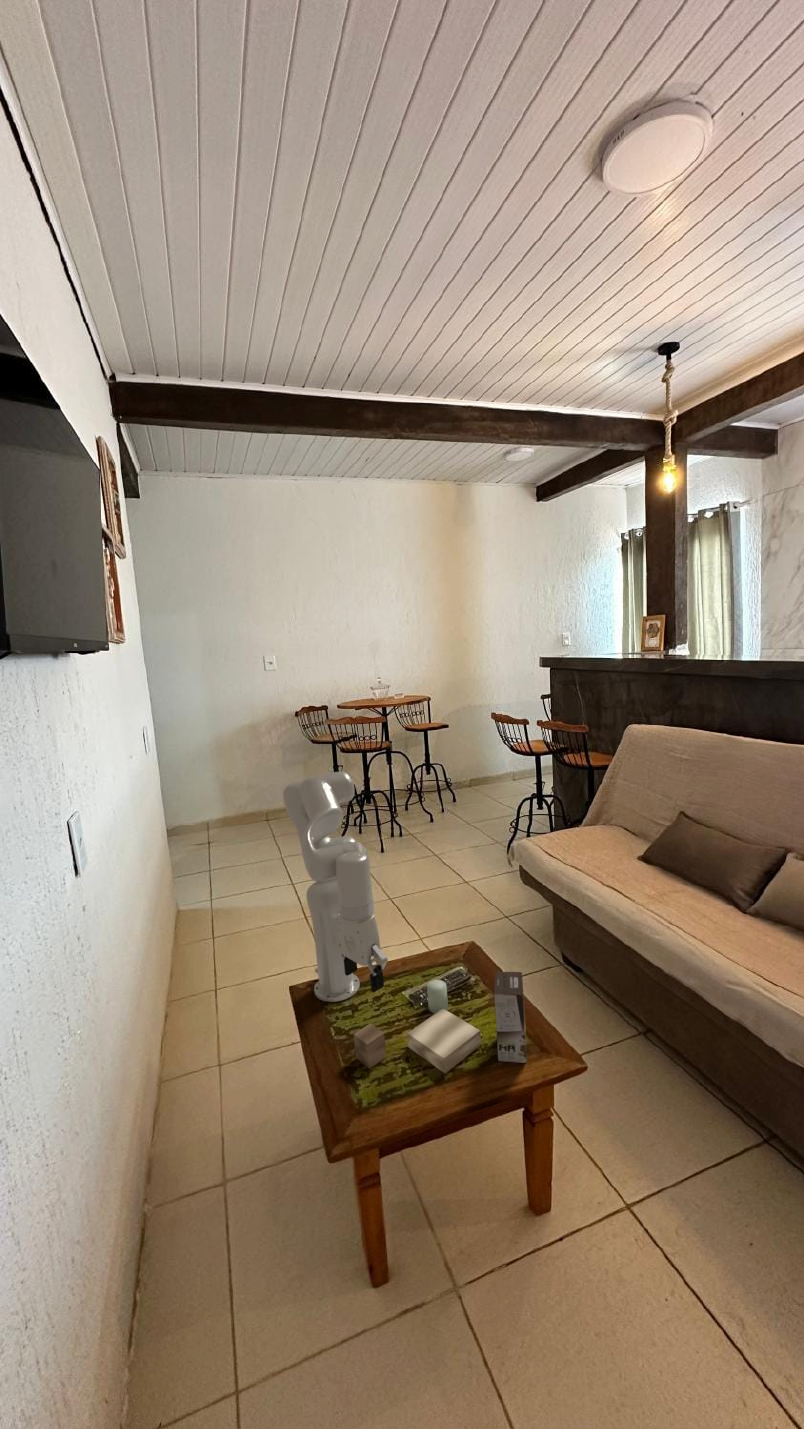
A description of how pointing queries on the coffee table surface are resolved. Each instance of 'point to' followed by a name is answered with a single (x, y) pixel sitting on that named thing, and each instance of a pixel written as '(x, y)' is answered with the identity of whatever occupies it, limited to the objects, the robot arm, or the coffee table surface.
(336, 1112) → the coffee table surface
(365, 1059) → the walnut block
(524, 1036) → the coffee box
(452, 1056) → the birch base
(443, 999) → the sage cylinder
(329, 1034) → the coffee table surface
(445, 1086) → the coffee table surface
